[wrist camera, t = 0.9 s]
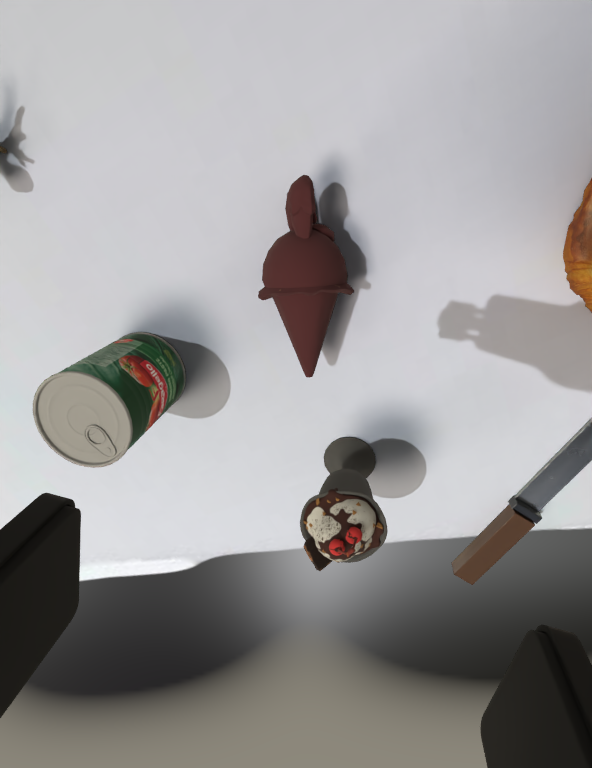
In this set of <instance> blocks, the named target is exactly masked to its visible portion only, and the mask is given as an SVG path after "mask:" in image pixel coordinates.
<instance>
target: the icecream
mask: <svg viewBox="0 0 592 768" xmlns="http://www.w3.org/2000/svg"><path fill="white" fill-rule="evenodd" d="M285 209H286V215H287V220H288V226H289V228H290V232H288V233H286V234H285V235H283V236H282V237H280V238H278V239H277V240H276V242H275V243H274V244H273V246H272V247H271V248H270V250H269V251H268V254H267V256H266V259H265V261H264V264H263V276H262V281H263V283H264V286H265V287H264V288H263V289H261V290H260V291H259V295H258V297H259V298H260V299H261V300H266V299H269V298H272V297H273V299H274V301H275V304H276V306H277V309H278V311H279V313H280V316H281V318H282V320H283V323H284V325H285V328H286V330H287V332H288V335H289V337H290V340H291V342H292V344H293V347H294V349H295V352H296V354H297V357H298V359H299V361H300V364H301V366H302V369H303V371H304V373H305V375H306V377H312V376H313V374H314V371H315V368H316V365H317V361H318V358H319V355H320V351H321V348H322V345H323V341H324V338H325V335H326V332H327V328H328V325H329V322H330V319H331V315H332V312H333V309H334V306H335V302H336V299H337V296H338V293H339V292H340V293H345V294H349V295H351V294H352V293H353V292H354V290H353V289H352V287H351V286H350V285H349V284H348V283H347V277H348V275H347V269H346V264H345V260H344V258H343V256H342V254H341V252H340V250H339V248H338V246H337V245H336V244H335V243H334V241H335V240H334V232H333V231H332V230H330V229H329V228H328V227H327V226H325V225H322V224H315V223H316V221H317V216H316V213H315V211H316V205H315V200H314V188H313V182H312V180H311V179H310V178H309V176H307V175H303V176H301V177H300V178H298V179H297V180H296V181H295V182H294V183H293V184H292V185H291V187H290V190H289V192H288V194H287V201H286V208H285Z"/></svg>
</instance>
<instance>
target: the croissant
mask: <svg viewBox="0 0 592 768" xmlns="http://www.w3.org/2000/svg"><path fill="white" fill-rule="evenodd" d="M563 259H564V262H565V272H566V273H567V278H566V279H567V280H568V282H569V283H570V289H571V290H572V291H573V292H574V293H575V294H576V295H580V297H581V298H583V300H584V301H585V303H586V305H585V306H586V307H587V308H588V309H589V310H590V311H591V312H592V178H591V180H590V182H589V184H588V185H587V187H586V189H585V190H584V196H583V201H582V203H581V206H580V207H579V208H578V209H577V211H576V212H575V214H574V219H573V221H572V222H571V224H570V225H569V228H568V232H567V237H566V241H565V246H564V251H563Z"/></svg>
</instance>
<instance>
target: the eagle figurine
mask: <svg viewBox="0 0 592 768" xmlns="http://www.w3.org/2000/svg"><path fill="white" fill-rule="evenodd" d="M0 152H2V153H7V150H6V149H5V148H3V147H1V146H0Z"/></svg>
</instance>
